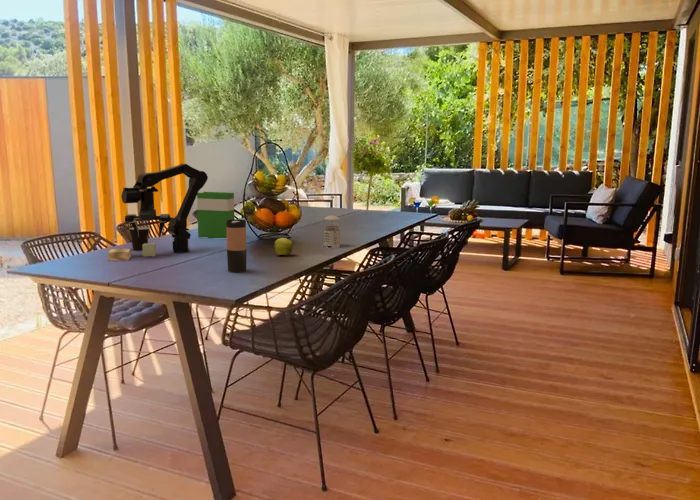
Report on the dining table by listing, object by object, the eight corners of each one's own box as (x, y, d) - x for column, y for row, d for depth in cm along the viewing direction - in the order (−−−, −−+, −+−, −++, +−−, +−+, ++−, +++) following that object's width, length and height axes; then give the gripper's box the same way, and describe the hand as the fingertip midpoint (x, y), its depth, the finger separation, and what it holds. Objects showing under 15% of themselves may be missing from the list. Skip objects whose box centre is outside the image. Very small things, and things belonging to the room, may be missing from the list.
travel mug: (241, 267, 241) (240, 218, 238) (250, 271, 235) (249, 220, 232) (223, 270, 237) (222, 220, 233) (232, 273, 231) (231, 222, 227)
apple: (273, 253, 273) (273, 236, 272) (293, 254, 273) (293, 236, 272) (271, 257, 266) (271, 239, 264) (292, 257, 266) (292, 239, 264)
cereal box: (198, 237, 318) (196, 192, 314) (205, 235, 325) (203, 191, 321) (228, 239, 314) (227, 193, 309) (234, 237, 321) (233, 192, 316)
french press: (336, 243, 303) (337, 194, 299) (346, 247, 293) (347, 196, 289) (319, 245, 299) (319, 195, 295) (328, 248, 289) (328, 197, 285)
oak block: (131, 257, 261) (130, 248, 261) (128, 261, 254) (128, 251, 253) (111, 258, 259) (111, 249, 259) (108, 261, 252) (108, 252, 251)
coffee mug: (143, 251, 275) (142, 229, 273) (126, 250, 277) (125, 229, 275) (156, 247, 286) (155, 226, 285) (140, 246, 288) (139, 226, 286)
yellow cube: (156, 254, 269) (155, 243, 268) (154, 256, 264) (154, 245, 263) (144, 254, 268) (144, 243, 267) (142, 256, 263) (142, 245, 262)
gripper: (121, 204, 253) (123, 240, 255) (166, 203, 256) (168, 239, 259) (126, 201, 264) (128, 236, 266) (170, 201, 267) (171, 235, 269)
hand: (149, 237), depth 265 cm, fingers open, 9 cm apart
